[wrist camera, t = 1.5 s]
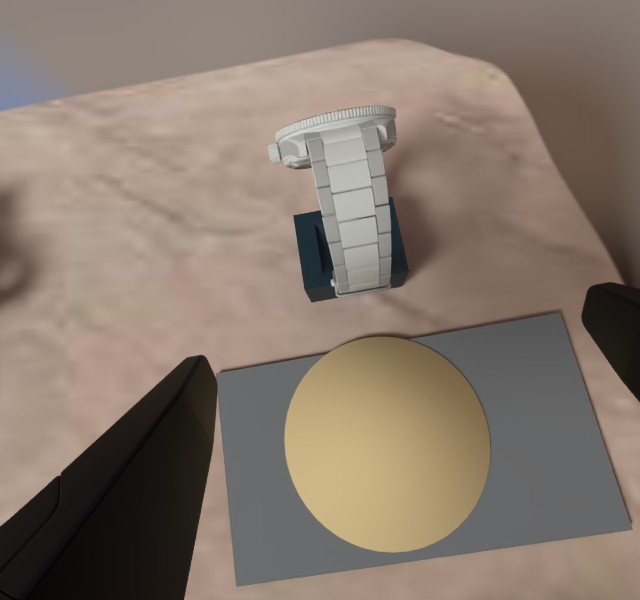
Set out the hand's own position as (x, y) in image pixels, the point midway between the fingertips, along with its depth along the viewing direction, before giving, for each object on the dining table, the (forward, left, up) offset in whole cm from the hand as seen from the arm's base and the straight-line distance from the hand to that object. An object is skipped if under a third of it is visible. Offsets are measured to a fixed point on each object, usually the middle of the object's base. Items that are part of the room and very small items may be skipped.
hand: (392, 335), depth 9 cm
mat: (-5, -1, -13) cm, 14 cm away
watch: (+6, 0, -13) cm, 15 cm away
